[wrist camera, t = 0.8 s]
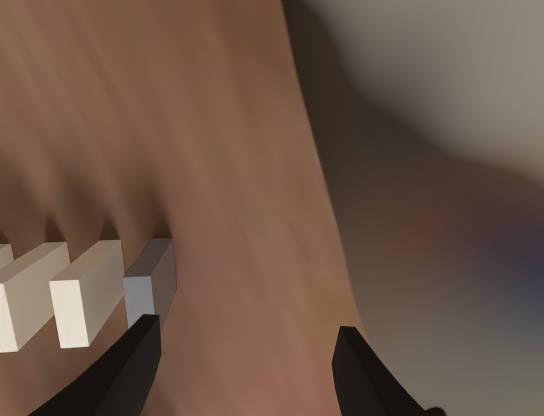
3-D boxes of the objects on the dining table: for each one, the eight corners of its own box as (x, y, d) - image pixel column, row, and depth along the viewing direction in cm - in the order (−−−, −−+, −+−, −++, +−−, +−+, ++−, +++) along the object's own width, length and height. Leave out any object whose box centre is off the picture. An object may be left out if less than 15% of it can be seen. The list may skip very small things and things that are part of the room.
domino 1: (66, 241, 25) (3, 283, 18) (74, 293, 26) (18, 351, 19) (44, 242, 25) (-28, 284, 18) (53, 294, 26) (-12, 353, 19)
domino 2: (120, 239, 25) (78, 279, 18) (126, 290, 26) (88, 346, 20) (99, 240, 25) (48, 281, 18) (106, 291, 26) (60, 348, 19)
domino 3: (172, 237, 26) (150, 276, 19) (176, 288, 27) (157, 341, 20) (152, 238, 26) (122, 277, 19) (157, 289, 27) (130, 343, 20)
